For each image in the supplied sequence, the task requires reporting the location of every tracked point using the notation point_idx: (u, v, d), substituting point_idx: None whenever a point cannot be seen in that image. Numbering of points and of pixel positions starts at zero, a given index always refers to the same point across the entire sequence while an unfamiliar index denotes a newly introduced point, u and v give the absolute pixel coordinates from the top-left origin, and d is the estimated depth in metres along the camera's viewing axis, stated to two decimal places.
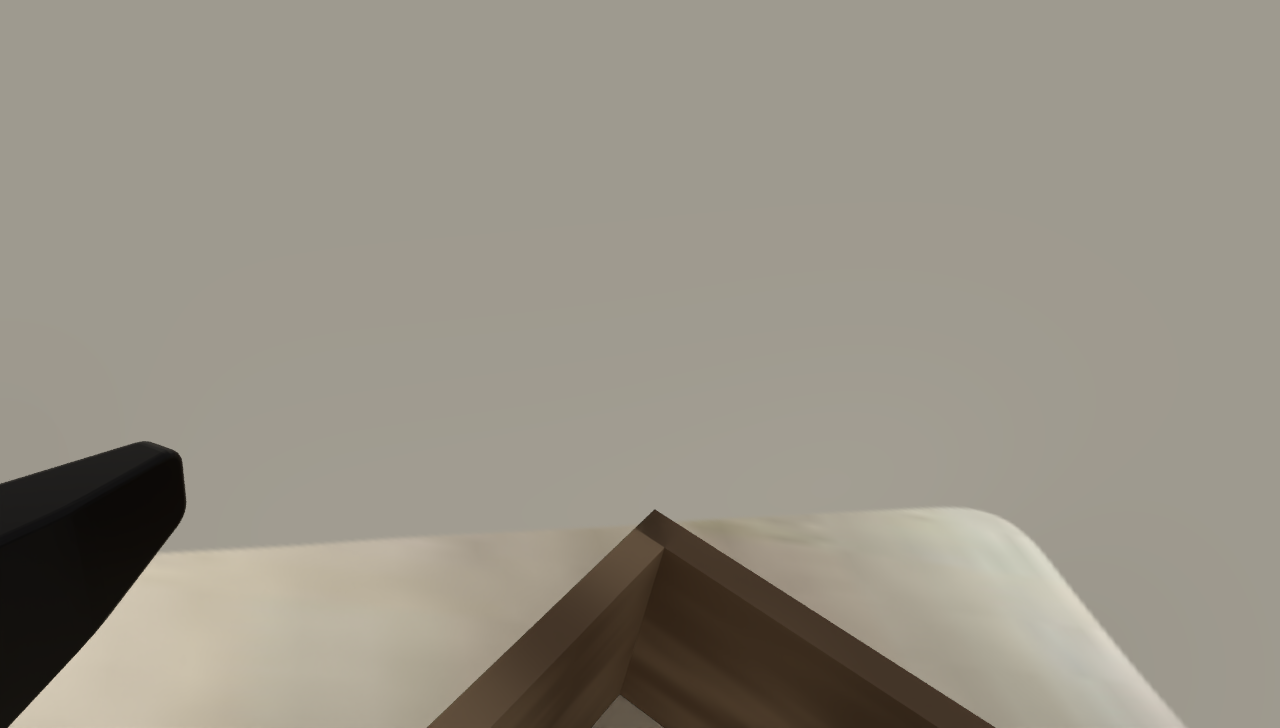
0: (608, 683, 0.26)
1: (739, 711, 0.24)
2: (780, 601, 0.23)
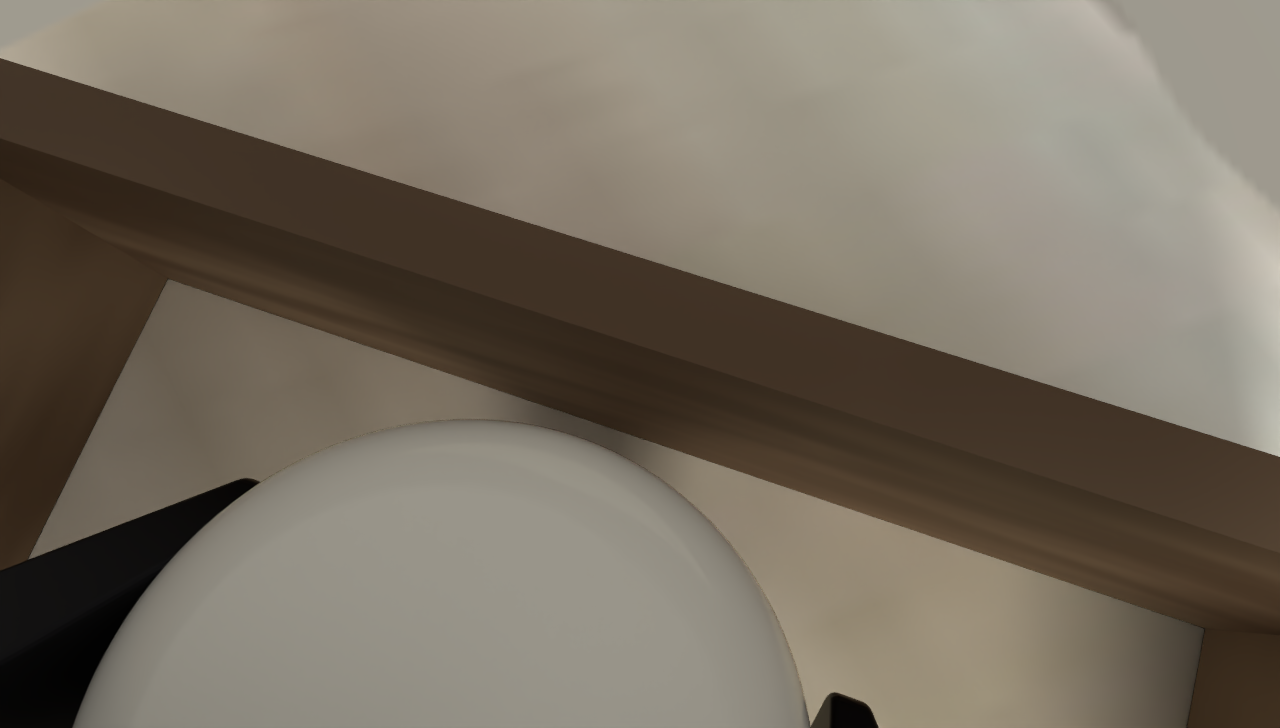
0: (79, 299, 0.16)
1: (257, 282, 0.14)
2: (102, 119, 0.11)
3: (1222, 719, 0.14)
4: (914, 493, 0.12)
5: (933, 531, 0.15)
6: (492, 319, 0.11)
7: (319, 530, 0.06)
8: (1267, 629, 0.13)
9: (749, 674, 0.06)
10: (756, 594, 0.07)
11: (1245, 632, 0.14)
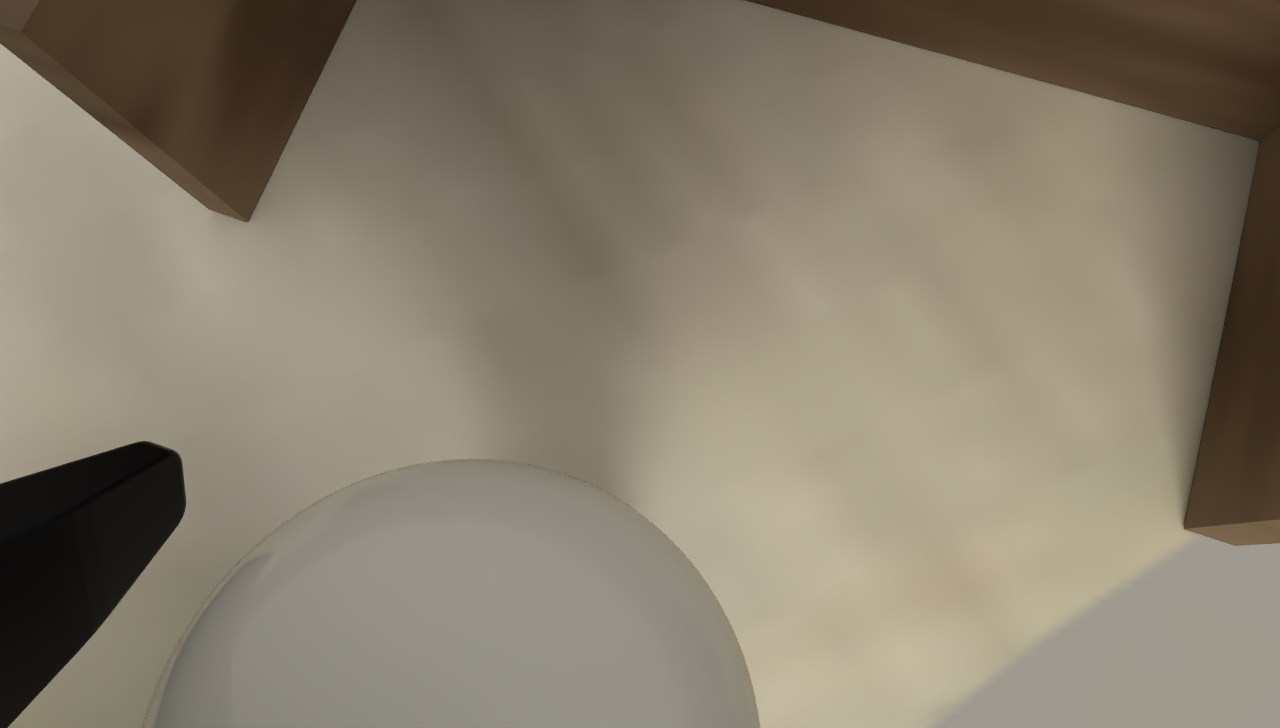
0: None
1: None
2: None
3: (1278, 179, 0.18)
4: None
5: (1043, 61, 0.19)
6: None
7: (344, 563, 0.07)
8: None
9: (698, 676, 0.08)
10: (709, 608, 0.09)
11: None
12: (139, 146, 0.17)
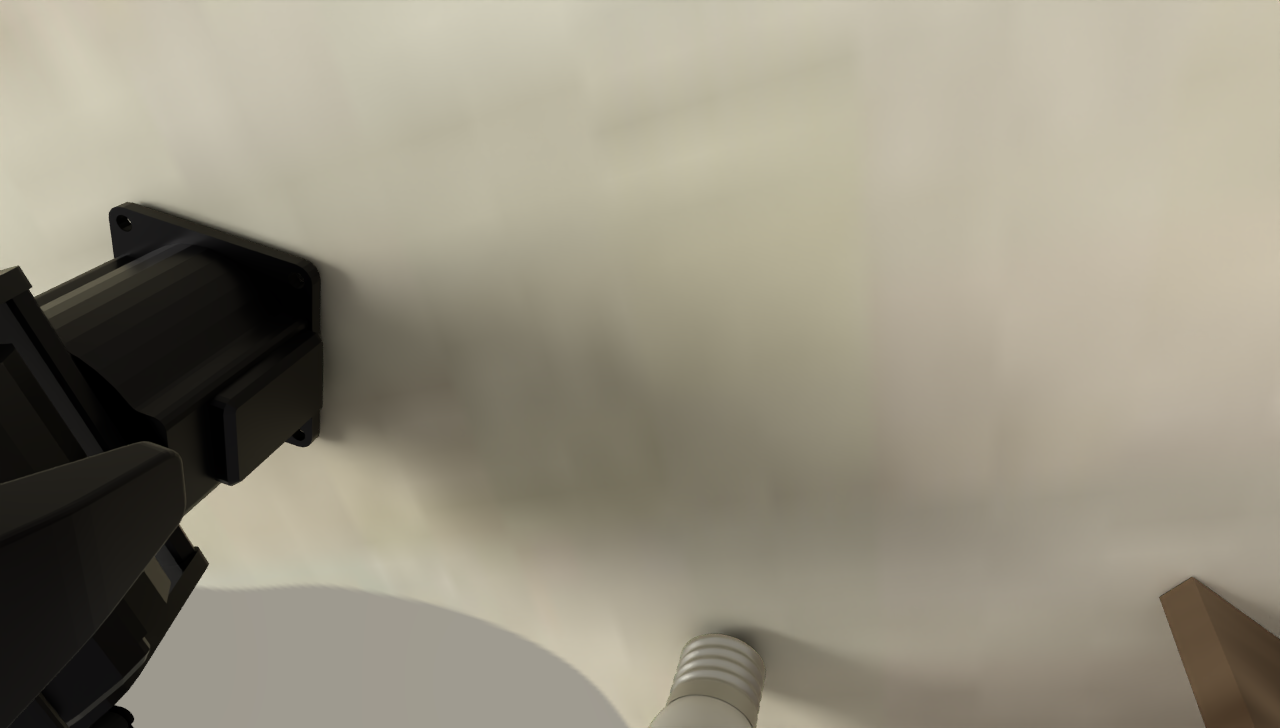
0: None
1: None
2: None
3: None
4: None
5: None
6: None
7: None
8: None
9: None
10: None
11: None
12: (1219, 680, 0.19)
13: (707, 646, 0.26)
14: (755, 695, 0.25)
